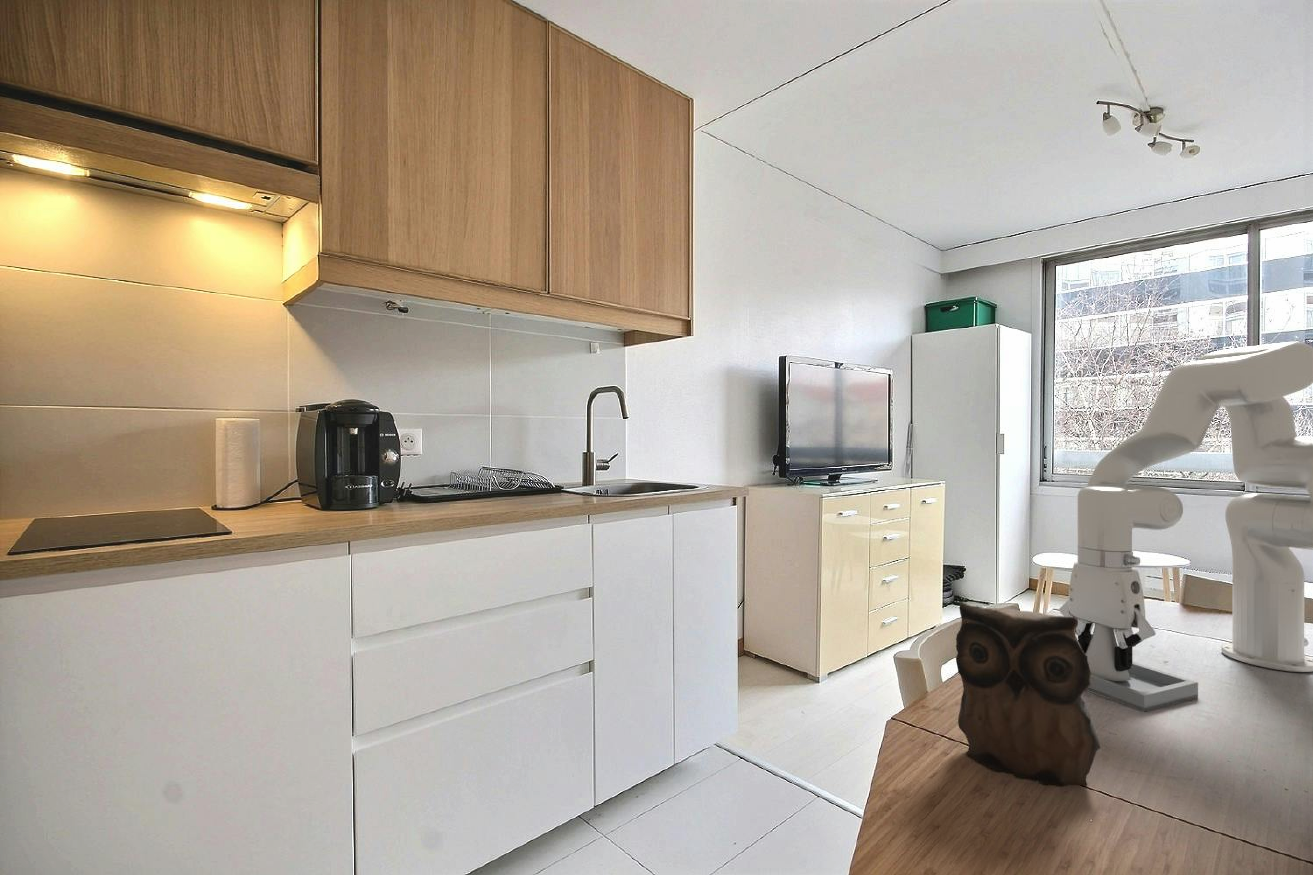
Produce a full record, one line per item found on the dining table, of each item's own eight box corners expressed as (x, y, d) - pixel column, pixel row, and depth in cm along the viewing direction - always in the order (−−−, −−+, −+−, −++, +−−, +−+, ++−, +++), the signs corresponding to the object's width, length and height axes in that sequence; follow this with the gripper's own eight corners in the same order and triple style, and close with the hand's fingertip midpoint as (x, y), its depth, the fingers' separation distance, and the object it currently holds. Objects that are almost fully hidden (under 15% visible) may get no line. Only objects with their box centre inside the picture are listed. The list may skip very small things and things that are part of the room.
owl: (1105, 791, 70) (1105, 620, 70) (1003, 795, 68) (1004, 622, 69) (1028, 737, 82) (1029, 593, 82) (941, 740, 81) (942, 594, 81)
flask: (1140, 684, 98) (1140, 623, 98) (1091, 680, 99) (1091, 621, 99) (1116, 667, 105) (1116, 611, 105) (1070, 664, 106) (1070, 609, 106)
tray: (1071, 655, 114) (1071, 642, 114) (1197, 697, 95) (1197, 682, 95) (1020, 665, 109) (1020, 651, 109) (1144, 711, 90) (1144, 695, 90)
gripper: (1175, 566, 96) (1175, 679, 96) (1068, 548, 112) (1068, 645, 111) (1147, 570, 93) (1147, 686, 93) (1041, 551, 109) (1041, 650, 109)
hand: (1104, 662), depth 102 cm, fingers closed on flask, 5 cm apart
